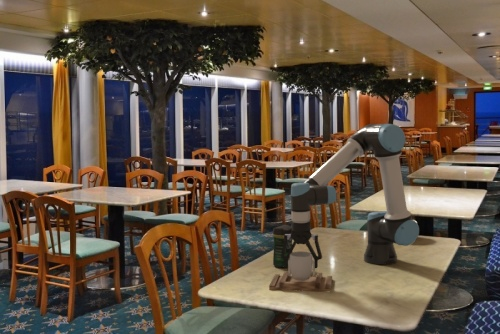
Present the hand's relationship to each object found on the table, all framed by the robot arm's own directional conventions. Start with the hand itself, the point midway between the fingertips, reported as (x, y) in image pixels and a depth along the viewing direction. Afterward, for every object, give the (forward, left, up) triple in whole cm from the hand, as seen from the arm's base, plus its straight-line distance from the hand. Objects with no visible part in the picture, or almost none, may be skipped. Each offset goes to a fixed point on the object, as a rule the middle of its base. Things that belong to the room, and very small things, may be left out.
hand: (301, 275), depth 224 cm
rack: (0, +1, -3) cm, 4 cm away
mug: (0, 0, -1) cm, 1 cm away
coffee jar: (+11, -27, -4) cm, 29 cm away
